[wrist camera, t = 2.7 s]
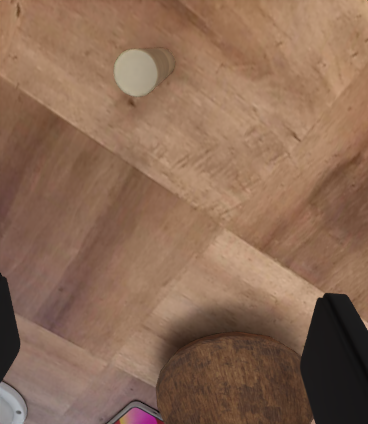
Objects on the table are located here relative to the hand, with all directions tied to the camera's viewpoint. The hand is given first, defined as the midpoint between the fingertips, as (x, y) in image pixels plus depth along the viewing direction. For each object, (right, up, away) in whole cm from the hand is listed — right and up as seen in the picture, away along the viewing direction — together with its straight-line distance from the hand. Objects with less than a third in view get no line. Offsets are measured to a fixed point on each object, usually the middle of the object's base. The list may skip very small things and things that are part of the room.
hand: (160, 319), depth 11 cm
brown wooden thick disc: (+7, -18, +37) cm, 42 cm away
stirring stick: (-1, +17, +21) cm, 27 cm away
